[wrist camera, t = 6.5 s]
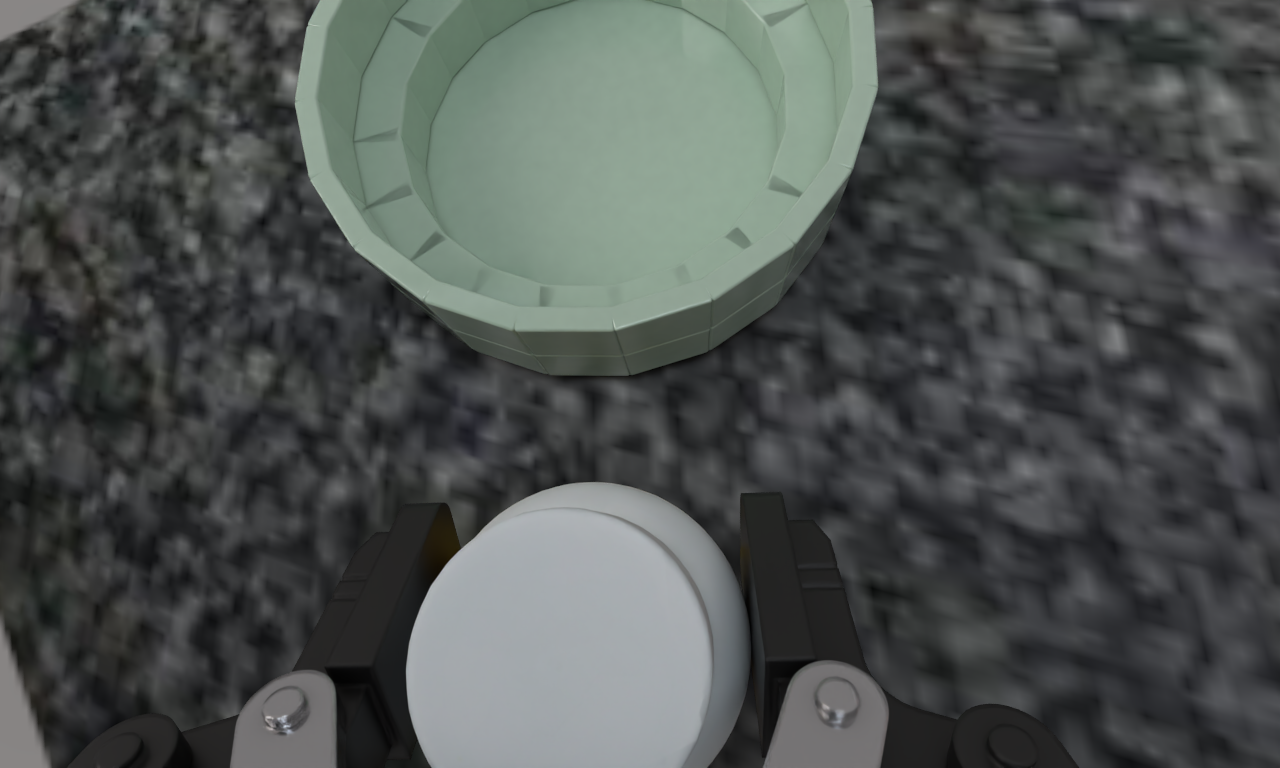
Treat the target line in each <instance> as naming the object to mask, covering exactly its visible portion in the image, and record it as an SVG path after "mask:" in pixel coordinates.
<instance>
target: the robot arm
mask: <svg viewBox="0 0 1280 768" xmlns="http://www.w3.org/2000/svg"><path fill="white" fill-rule="evenodd" d="M460 550H461V547H460V544H459V540H458V536H457V533H456V529H455V525H454V522H453V518H452V515H451V511H450V508H449V506H448V505H447V504H446V503H416V504H405V505H403V506H402V508H401V509H400V511H399V513H398V515H397V517H396V519H395V521H394V523H393V526H392V528H391V530H390V532H376V533H375V534H374V535H373V536H372V537H371V538H370V539H369V540H368V541H367V542H366V543H365V544H364V545H362V546H361V547H360V548H359V549H358V550H357V551H356V552H355V553H354V555H353V557H352V559H351V561H350V563H349V565H348V566H347V568H346V570H345V572H344V574H343V579H342V581H340V582H339V583H338V585H337V587H336V589H335V591H334V593H333V598H332V600H330V601H329V602H328V604H327V606H326V608H325V610H324V612H323V614H322V616H321V618H320V620H319V621H318V623H317V625H316V627H315V629H314V631H313V633H312V635H311V637H310V638H309V640H308V642H307V644H306V646H305V648H304V650H303V652H302V654H301V656H300V657H299V659H298V661H297V663H296V665H295V667H294V669H293V670H292V672H291V673H288V674H285V675H282V676H280V677H278V678H276V679H274V680H272V681H271V682H269V683H268V684H266V685H265V686H263V687H262V688H261V689H260V690H259V691H257V692H256V693H255V694H254V695H253V696H252V697H251V698H250V699H249V701H248V702H247V703H246V705H245V706H244V708H243V709H242V711H241V712H240V714H238V715H236V716H233V717H230V718H227V719H223V720H220V721H217V722H213V723H210V724H207V725H204V726H200V727H197V728H194V729H190V730H187V731H184V732H181V731H180V730H179V728H178V727H177V725H176V724H175V722H174V721H173V720H172V719H171V718H169V717H168V716H166V715H163V714H156V713H151V714H143V715H139V716H135V717H132V718H129V719H127V720H125V721H122V722H120V723H118V724H116V725H115V726H113V727H111V728H109V729H108V730H106V731H105V732H103V733H102V734H101V735H99V736H98V737H97V738H96V739H94V740H93V741H92V742H91V743H90V744H89V745H88V746H87V747H86V748H85V749H84V750H83V751H82V752H81V753H80V754H79V755H78V756H77V757H76V758H75V759H74V760H73V761H72V763H71V764H70V765H69V766H68V767H67V768H384V766H385V764H386V761H387V760H399V759H411V756H412V753H413V750H414V747H415V744H416V740H417V735H416V733H415V730H414V727H413V724H412V720H411V716H410V712H409V707H408V697H407V685H406V664H407V656H408V648H409V642H410V638H411V634H412V630H413V627H414V624H415V621H416V618H417V615H418V613H419V610H420V608H421V606H422V603H423V601H424V599H425V597H426V595H427V593H428V591H429V589H430V586H431V585H432V584H433V582H434V581H435V580H436V578H437V577H438V575H439V574H440V573H441V571H442V570H443V568H444V567H445V566H446V564H447V563H448V562H449V561H450V560H451V559H452V558H453V557H454V555H455V554H456V553H457V552H458V551H460ZM740 564H741V580H742V591H743V598H744V601H745V605H746V608H747V612H748V617H749V623H750V633H751V666H752V675H753V683H754V692H755V700H756V709H757V717H758V725H759V734H760V742H761V751H762V758H763V757H766V760H765V763H764V766H763V768H1079V767H1078V766H1077V764H1076V763H1075V761H1074V760H1073V759H1072V757H1071V756H1070V755H1069V753H1068V752H1067V750H1066V749H1065V748H1064V746H1063V745H1062V743H1061V742H1060V741H1059V740H1058V738H1057V737H1056V736H1055V735H1054V733H1052V732H1051V731H1050V730H1049V729H1048V728H1047V727H1046V726H1045V725H1044V724H1042V723H1041V722H1040V721H1038V720H1037V719H1036V718H1034V717H1032V716H1031V715H1029V714H1027V713H1025V712H1023V711H1020V710H1018V709H1015V708H1012V707H1009V706H1005V705H999V704H983V705H978V706H975V707H972V708H970V709H968V710H966V711H965V712H964V713H963V714H962V715H961V716H960V717H959V718H958V720H957V719H953V718H950V717H946V716H942V715H939V714H935V713H932V712H928V711H925V710H921V709H918V708H915V707H912V706H910V705H908V704H905V703H903V702H901V701H899V700H898V699H896V698H895V697H893V696H892V695H890V694H889V693H888V692H886V691H885V690H884V689H883V688H882V687H881V686H880V685H879V684H878V683H877V682H876V681H875V679H874V678H873V677H872V675H871V674H870V672H869V670H868V668H867V666H866V663H865V661H864V657H863V654H862V650H861V647H860V643H859V640H858V636H857V633H856V629H855V625H854V622H853V618H852V615H851V611H850V608H849V604H848V601H847V597H846V593H845V590H844V588H843V583H842V579H841V576H840V572H839V569H838V568H837V561H836V558H835V554H834V551H833V547H832V544H831V540H830V539H829V538H828V537H827V535H826V534H825V533H824V532H823V531H822V530H821V529H820V527H819V526H818V525H817V524H816V523H815V522H814V521H813V520H790V521H788V519H787V514H786V509H785V505H784V500H783V496H782V493H781V492H766V493H741V498H740Z"/></svg>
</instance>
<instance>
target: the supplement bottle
mask: <svg viewBox="0 0 1280 768" xmlns="http://www.w3.org/2000/svg"><path fill="white" fill-rule="evenodd" d="M750 667H751V633H750V623H749V617H748V612H747V608H746V605H745V601H744V598H743V594H742V591H741V588H740V586H739V583H738V581H737V579H736V576H735V574H734V572H733V570H732V568H731V566H730V564H729V562H728V561H727V559H726V557H725V556H724V554H723V552H722V551H721V550H720V548H719V547H718V546H717V544H716V543H715V541H714V540H713V539H712V538H711V537H710V536H709V534H708V533H707V532H706V531H705V530H704V529H703V528H702V527H701V526H700V525H699V524H698V523H697V522H695V521H694V520H693V519H692V518H691V517H690V516H689V515H687V514H686V513H685V512H683V511H682V510H680V509H679V508H677V507H676V506H674V505H672V504H671V503H669V502H668V501H666V500H664V499H662V498H660V497H658V496H656V495H653V494H651V493H648V492H645V491H643V490H640V489H636V488H633V487H629V486H624V485H619V484H614V483H604V482H585V483H573V484H567V485H562V486H558V487H554V488H550V489H547V490H544V491H541V492H539V493H536V494H534V495H532V496H529V497H527V498H525V499H523V500H521V501H519V502H517V503H516V504H514V505H512V506H511V507H509V508H508V509H506V510H505V511H503V512H502V513H500V514H499V515H498V516H497V517H495V518H494V519H493V520H492V521H491V522H490V523H488V524H487V525H486V526H485V527H484V528H483V529H482V530H481V531H480V532H479V534H478V535H477V536H476V537H475V538H474V539H473V540H471V541H470V542H469V543H468V544H466V545H465V546H464V547H463V548H462V549H461V550H460V551H458V552H457V553H456V554H455V555H454V557H453V558H452V559H451V560H450V561H449V562H448V563H447V564H446V566H445V567H444V568H443V570H442V571H441V573H440V574H439V575H438V577H437V578H436V580H435V581H434V582H433V584H432V585H431V586H430V589H429V591H428V593H427V595H426V597H425V599H424V601H423V603H422V606H421V608H420V610H419V613H418V615H417V618H416V621H415V624H414V627H413V630H412V634H411V638H410V642H409V648H408V656H407V664H406V685H407V697H408V707H409V712H410V716H411V720H412V724H413V727H414V730H415V733H416V735H417V738H418V741H419V743H420V746H421V748H422V751H423V753H424V755H425V757H426V759H427V761H428V763H429V764H430V766H431V767H432V768H707V767H708V766H709V765H710V764H711V762H712V761H713V760H714V758H715V757H716V756H717V754H718V753H719V752H720V750H721V749H722V747H723V746H724V744H725V743H726V741H727V739H728V737H729V735H730V734H731V732H732V730H733V728H734V725H735V723H736V721H737V718H738V716H739V713H740V710H741V707H742V704H743V701H744V699H745V695H746V691H747V686H748V681H749V675H750Z"/></svg>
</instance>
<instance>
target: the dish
mask: <svg viewBox="0 0 1280 768" xmlns="http://www.w3.org/2000/svg"><path fill="white" fill-rule="evenodd" d="M877 88H878V70H877V55H876V39H875V23H874V9H873V5H872V2H871V0H320V1H319V3H318V5H317V7H316V9H315V11H314V13H313V15H312V17H311V18H310V20H309V22H308V26H307V28H306V34H305V40H304V47H303V53H302V59H301V65H300V71H299V77H298V83H297V89H296V95H295V107H296V112H297V118H298V123H299V128H300V133H301V138H302V143H303V149H304V154H305V159H306V164H307V169H308V175H309V178H310V180H311V183H312V185H313V186H314V188H315V189H316V191H317V193H318V194H319V196H320V197H321V199H322V201H323V202H324V204H325V205H326V207H327V209H328V210H329V212H330V213H331V215H332V217H333V218H334V220H335V221H336V223H337V224H338V226H339V228H340V229H341V231H342V232H343V234H344V236H345V237H346V239H347V240H348V242H349V244H350V245H351V247H352V248H353V249H354V250H355V251H356V252H357V253H358V254H359V255H360V256H361V257H362V258H363V259H365V260H366V261H367V262H368V263H369V264H370V265H371V266H372V267H373V268H374V269H376V270H377V271H378V272H379V273H380V274H381V275H382V276H383V277H384V278H385V279H386V280H388V281H389V282H390V283H391V284H392V285H393V286H394V287H395V288H396V289H398V290H399V291H400V292H401V293H402V294H403V295H404V296H405V297H406V298H407V299H408V300H410V301H411V302H412V303H413V304H414V305H415V306H416V307H417V308H419V309H420V310H421V311H423V312H424V313H425V314H426V315H428V316H429V317H430V318H432V319H433V320H434V321H436V322H437V323H438V324H440V325H441V326H442V327H444V328H445V329H446V330H447V331H449V332H450V333H451V334H453V335H454V336H455V337H457V338H458V339H459V340H461V341H462V342H463V343H464V344H466V345H467V346H468V347H470V348H472V349H474V350H475V351H477V352H480V353H483V354H486V355H489V356H492V357H495V358H498V359H501V360H504V361H507V362H510V363H513V364H516V365H519V366H522V367H525V368H528V369H531V370H534V371H537V372H540V373H543V374H549V375H592V376H628V375H634V374H637V373H641V372H644V371H647V370H650V369H654V368H657V367H660V366H663V365H667V364H670V363H673V362H677V361H680V360H683V359H686V358H690V357H693V356H696V355H699V354H703V353H706V352H708V351H709V350H712V349H713V348H715V347H716V346H718V345H719V344H721V343H722V342H724V341H725V340H727V339H728V338H729V337H731V336H732V335H734V334H735V333H737V332H738V331H740V330H741V329H743V328H744V327H745V326H747V325H748V324H750V323H751V322H753V321H754V320H756V319H757V318H758V317H760V316H761V315H763V314H764V313H766V312H767V311H769V310H770V309H772V308H773V307H774V306H775V305H777V304H778V303H779V301H780V300H781V299H782V297H783V296H784V295H785V293H786V292H787V291H788V289H789V288H790V287H791V285H792V284H793V283H794V281H795V280H796V279H797V277H798V276H799V275H800V273H801V272H802V271H803V270H804V268H805V267H806V266H807V264H808V263H809V262H810V260H811V259H812V258H813V256H814V255H815V254H816V252H817V251H818V250H819V248H820V247H821V246H822V244H823V241H824V239H825V237H826V234H827V232H828V230H829V227H830V225H831V222H832V220H833V217H834V215H835V212H836V210H837V207H838V205H839V203H840V200H841V198H842V195H843V193H844V191H845V188H846V186H847V183H848V181H849V178H850V176H851V173H852V171H853V168H854V165H855V162H856V159H857V156H858V153H859V149H860V146H861V143H862V140H863V137H864V134H865V130H866V127H867V124H868V121H869V118H870V115H871V111H872V108H873V105H874V102H875V99H876V96H877V92H878V89H877Z"/></svg>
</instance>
